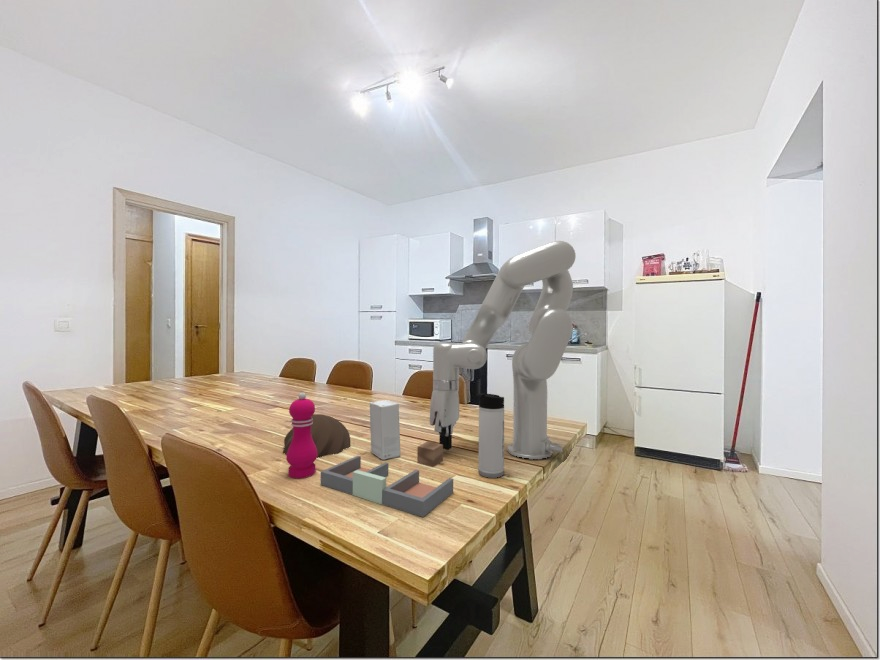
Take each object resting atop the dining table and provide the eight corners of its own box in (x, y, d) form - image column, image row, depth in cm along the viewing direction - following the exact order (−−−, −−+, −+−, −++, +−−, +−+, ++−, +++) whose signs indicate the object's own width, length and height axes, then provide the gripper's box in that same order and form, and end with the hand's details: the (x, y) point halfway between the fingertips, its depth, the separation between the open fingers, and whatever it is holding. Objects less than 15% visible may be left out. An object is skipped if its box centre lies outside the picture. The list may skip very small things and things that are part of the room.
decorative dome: (266, 453, 105) (266, 418, 105) (314, 434, 123) (314, 405, 123) (321, 463, 98) (321, 426, 98) (363, 441, 116) (363, 410, 116)
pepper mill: (291, 468, 94) (291, 390, 94) (320, 467, 94) (320, 389, 94) (281, 479, 87) (282, 395, 86) (313, 478, 87) (313, 395, 87)
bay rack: (453, 492, 80) (453, 469, 80) (422, 517, 70) (423, 491, 70) (357, 467, 95) (357, 447, 94) (320, 484, 84) (320, 463, 84)
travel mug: (472, 470, 93) (473, 391, 92) (495, 466, 95) (495, 390, 95) (485, 480, 87) (485, 396, 87) (508, 476, 89) (509, 394, 89)
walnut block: (442, 460, 100) (442, 444, 100) (433, 466, 95) (433, 449, 95) (427, 457, 102) (427, 441, 102) (417, 463, 98) (417, 446, 98)
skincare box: (400, 456, 102) (401, 403, 102) (380, 461, 99) (381, 406, 99) (387, 448, 109) (388, 398, 109) (368, 452, 106) (369, 400, 106)
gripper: (447, 381, 114) (446, 439, 114) (420, 387, 101) (420, 453, 102) (469, 383, 110) (468, 443, 111) (444, 390, 98) (443, 458, 98)
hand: (445, 448), depth 106 cm, fingers closed
